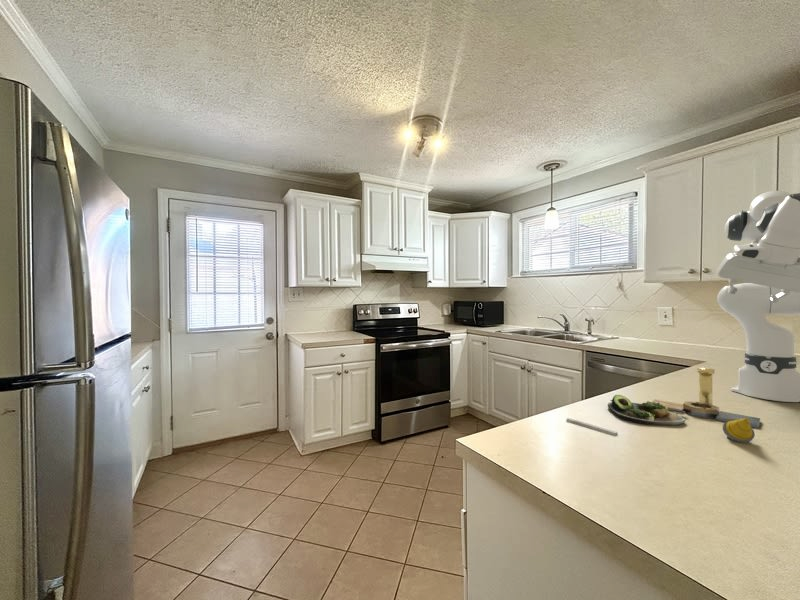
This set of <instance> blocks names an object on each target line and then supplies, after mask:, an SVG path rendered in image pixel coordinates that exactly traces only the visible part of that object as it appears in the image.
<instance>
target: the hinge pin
mask: <svg viewBox="0 0 800 600" xmlns="http://www.w3.org/2000/svg"><path fill="white" fill-rule="evenodd" d="M696 372H697V373H698V393H699V394H698V398H699V399H698V400H699V401H698V402H701V403H707V404H711V405H713V375H715V369H714V368H711V367H702V366H701V367H699V366H698V367H696Z"/></svg>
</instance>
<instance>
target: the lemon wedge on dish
mask: <svg viewBox="0 0 800 600" xmlns="http://www.w3.org/2000/svg"><path fill="white" fill-rule="evenodd" d="M722 431H723V433H724V434H725V435H726V439H730V440H732V441H734V442H737V443H740V444H747V443H750V442H752V441H753V439H754V438H755V436H756V435H755V430H754V428H753V427H751V426H750V422H749V419H748V418H745V419H739V420H736V419H730V420H727V421H726V422H724V423H723V425H722Z"/></svg>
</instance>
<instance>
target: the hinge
mask: <svg viewBox="0 0 800 600" xmlns="http://www.w3.org/2000/svg"><path fill="white" fill-rule="evenodd" d="M651 402H654V403H660V405H663V406H664V405H665V404H666V405H667V406H666V407H668V408H670V409H675V410H681V411H685V412H686V413H685V414H687V415H690V416H692V417H698V418H701V419H702V418H703V419H716V421H719V422H724V423H725V422H726V421H727V420H730V419H736V420H739V419H745V418H748V419H749V422H750V426H751V428H752V429H759V426H760V424H761V418H760V417H756V416H755V417H754V416H749V415H743V414H738V413H733V412H727V411H722V410H721V411H720V407H719V406H716V405H714V404H712V405H711V404H707V403H701V402H699V401H685V402H684V403H679V402H678V403H677V402H671V401H667V400H663V399H662V400H661V399H656V398H655V399H654V400H652V401H651Z"/></svg>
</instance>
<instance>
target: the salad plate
mask: <svg viewBox="0 0 800 600" xmlns="http://www.w3.org/2000/svg"><path fill="white" fill-rule="evenodd" d="M666 406H667V405H666V404H665V405H664V406H663V405H660V403H654V402H652V401H649V400H648V401H646V402H642V403H640V402H639V403H638V402H637V403H636V402H632V401H631V400H630V399H629V398H627V397H626V396H623V395H622V394H615V395H613V397H612V399H610V402H608V403H607V407H608V409H609V411H610V413H612V414H613V415H614V416H615V417H617V418H619V419H621V420H623V421H626V422H631V423H633V424H641V425H653V426H654V425H656V426H679V425H682V424H684V423H685V422H687V421H686V419H685V417H682V416H680V415H681V414H687V413H686V412H685V411H681V410H675V409H670V408H668V407H666ZM656 419H660V420H662V419H665V420H668V421H660V420H656Z"/></svg>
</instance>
